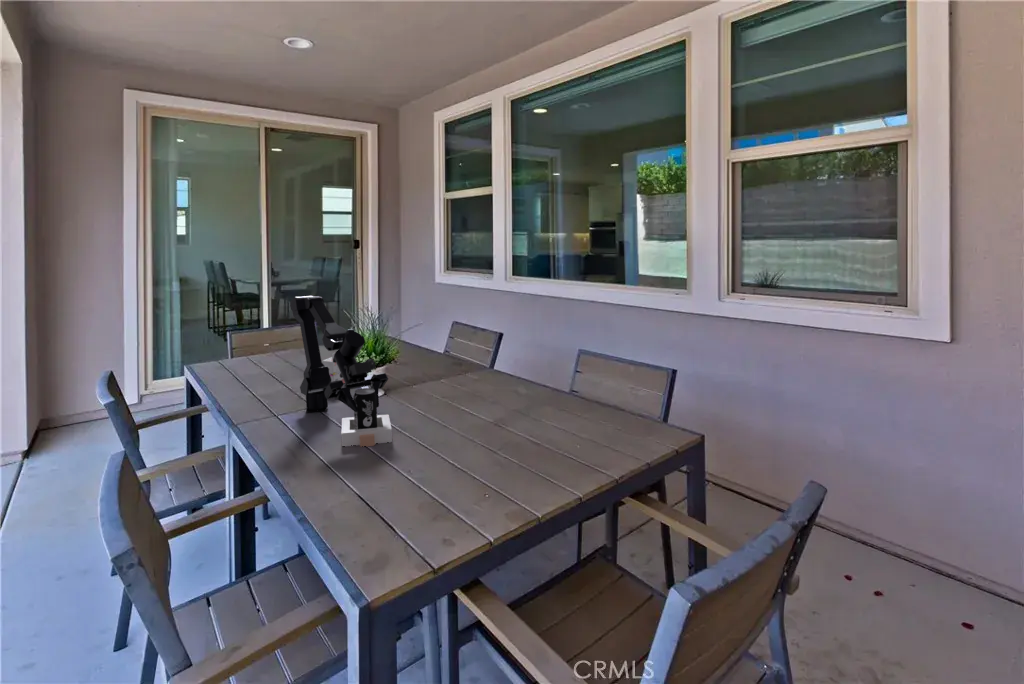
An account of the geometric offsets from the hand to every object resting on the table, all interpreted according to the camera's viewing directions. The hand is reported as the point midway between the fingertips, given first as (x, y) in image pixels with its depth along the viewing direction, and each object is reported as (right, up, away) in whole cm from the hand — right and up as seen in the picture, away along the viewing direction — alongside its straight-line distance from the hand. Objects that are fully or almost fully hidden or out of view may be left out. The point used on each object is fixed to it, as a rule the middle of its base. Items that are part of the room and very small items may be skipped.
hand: (367, 409), depth 163 cm
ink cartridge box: (-28, +2, +55) cm, 62 cm away
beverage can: (-1, -6, +2) cm, 7 cm away
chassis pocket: (-1, -8, +3) cm, 9 cm away
